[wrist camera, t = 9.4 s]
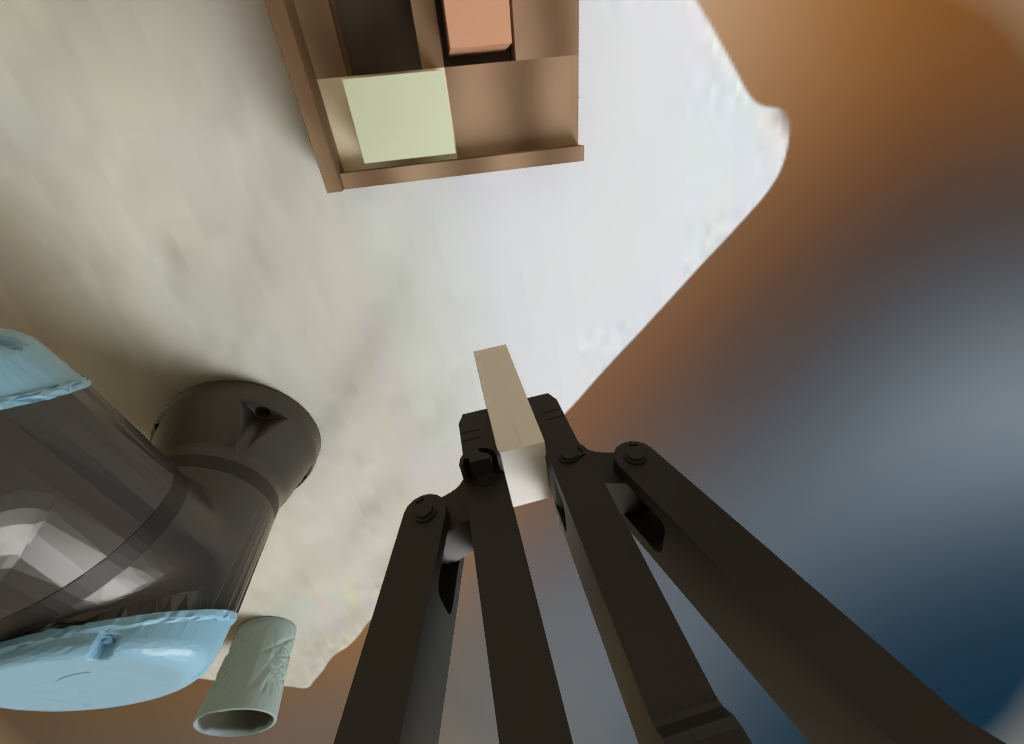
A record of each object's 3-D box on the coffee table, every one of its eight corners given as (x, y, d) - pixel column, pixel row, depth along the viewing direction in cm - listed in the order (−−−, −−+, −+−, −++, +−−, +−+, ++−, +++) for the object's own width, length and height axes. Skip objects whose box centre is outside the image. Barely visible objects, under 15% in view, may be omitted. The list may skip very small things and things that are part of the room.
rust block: (448, 57, 28) (450, 48, 24) (437, -20, 26) (438, -41, 22) (503, 52, 28) (512, 42, 25) (497, -24, 26) (505, -46, 23)
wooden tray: (341, 183, 31) (327, 192, 27) (271, -46, 24) (237, -82, 20) (568, 156, 33) (588, 161, 29) (567, -66, 25) (593, -102, 21)
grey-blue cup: (313, 630, 66) (291, 721, 56) (262, 650, 66) (232, 743, 57) (271, 607, 60) (238, 702, 50) (216, 629, 61) (173, 727, 51)
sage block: (372, 159, 28) (364, 163, 25) (354, 85, 26) (342, 79, 23) (453, 149, 29) (455, 153, 26) (442, 76, 26) (443, 69, 23)
